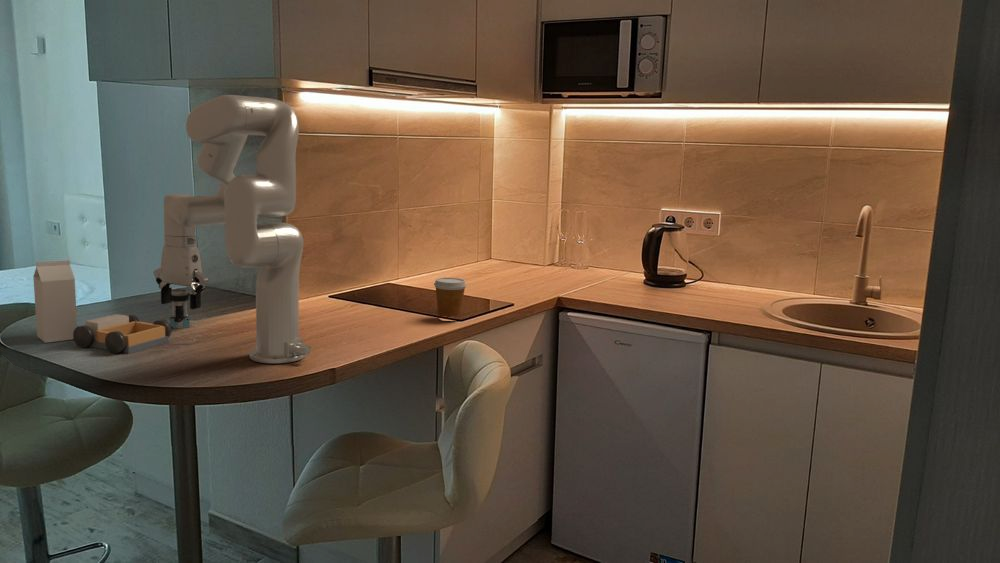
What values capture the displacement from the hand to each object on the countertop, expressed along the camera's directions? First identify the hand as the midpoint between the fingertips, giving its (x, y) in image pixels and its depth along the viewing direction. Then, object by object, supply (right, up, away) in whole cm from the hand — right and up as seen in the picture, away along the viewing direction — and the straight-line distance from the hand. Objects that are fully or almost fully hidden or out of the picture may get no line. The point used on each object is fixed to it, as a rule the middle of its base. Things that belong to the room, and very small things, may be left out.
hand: (180, 305), depth 198 cm
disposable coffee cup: (+69, -5, +25) cm, 74 cm away
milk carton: (-24, -8, -15) cm, 29 cm away
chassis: (-7, -9, -17) cm, 20 cm away
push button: (0, -6, +1) cm, 6 cm away
